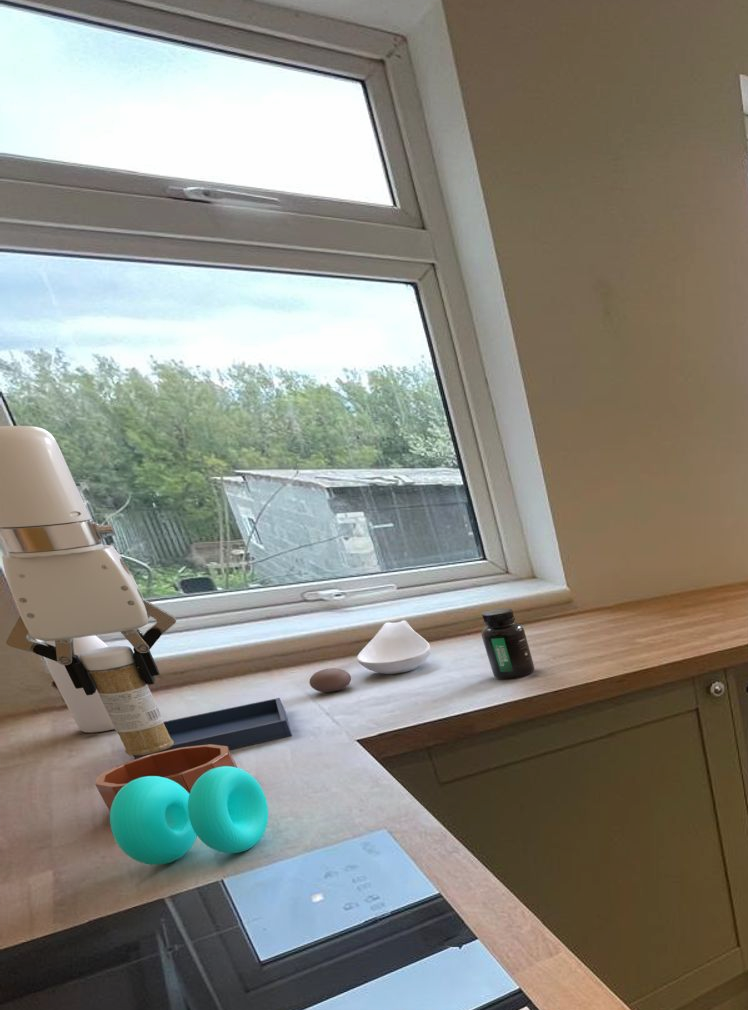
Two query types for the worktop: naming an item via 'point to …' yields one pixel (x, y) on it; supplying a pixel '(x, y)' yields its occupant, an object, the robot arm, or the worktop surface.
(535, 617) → the worktop surface
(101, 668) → the sprinkles bottle
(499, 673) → the supplement bottle
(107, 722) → the milk bottle
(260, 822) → the donuts
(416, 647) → the spoon rest
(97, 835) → the worktop surface
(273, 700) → the tray
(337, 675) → the egg
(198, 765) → the bowl
